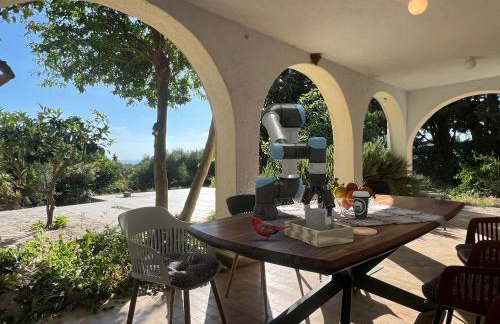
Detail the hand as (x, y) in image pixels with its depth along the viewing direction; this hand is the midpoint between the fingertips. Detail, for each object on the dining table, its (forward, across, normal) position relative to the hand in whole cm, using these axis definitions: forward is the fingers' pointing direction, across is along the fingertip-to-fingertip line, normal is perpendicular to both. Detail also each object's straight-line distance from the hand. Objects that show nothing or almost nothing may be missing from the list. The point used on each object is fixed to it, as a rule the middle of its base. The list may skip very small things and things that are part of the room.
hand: (317, 221), depth 149 cm
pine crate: (+7, 0, 0) cm, 7 cm away
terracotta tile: (+7, +2, +26) cm, 27 cm away
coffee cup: (+7, -23, +51) cm, 57 cm away
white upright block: (+7, 0, 0) cm, 7 cm away
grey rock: (+7, -26, +30) cm, 41 cm away
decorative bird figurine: (+7, -7, -20) cm, 23 cm away
